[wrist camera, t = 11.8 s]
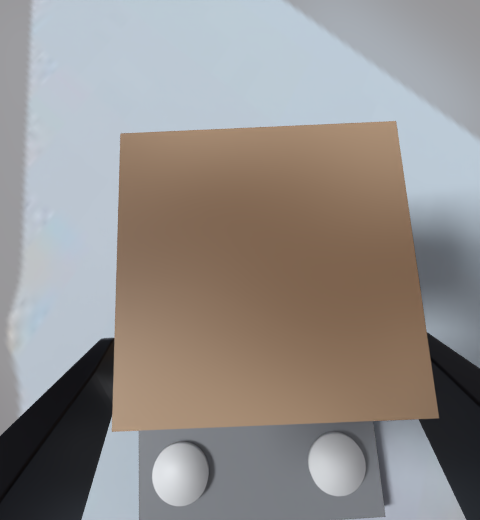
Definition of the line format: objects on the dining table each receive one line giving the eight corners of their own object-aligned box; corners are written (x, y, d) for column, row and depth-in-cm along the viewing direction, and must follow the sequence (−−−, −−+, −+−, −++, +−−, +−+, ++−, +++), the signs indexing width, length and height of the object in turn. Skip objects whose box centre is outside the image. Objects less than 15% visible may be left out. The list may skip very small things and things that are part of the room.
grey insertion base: (379, 507, 17) (410, 553, 14) (143, 521, 17) (120, 571, 14) (339, 189, 21) (356, 167, 17) (141, 202, 21) (123, 182, 17)
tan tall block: (290, 335, 18) (439, 418, 4) (211, 339, 18) (111, 431, 4) (284, 245, 19) (390, 82, 5) (208, 248, 19) (121, 94, 5)
